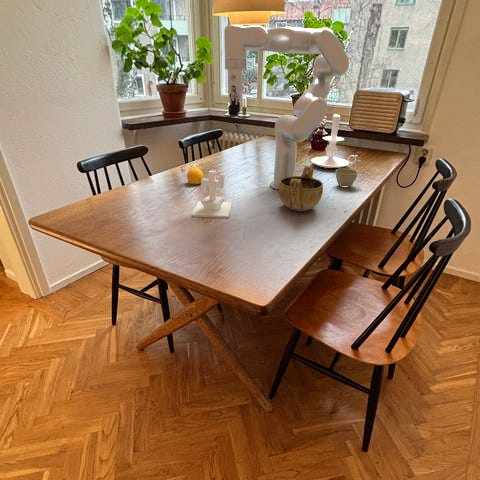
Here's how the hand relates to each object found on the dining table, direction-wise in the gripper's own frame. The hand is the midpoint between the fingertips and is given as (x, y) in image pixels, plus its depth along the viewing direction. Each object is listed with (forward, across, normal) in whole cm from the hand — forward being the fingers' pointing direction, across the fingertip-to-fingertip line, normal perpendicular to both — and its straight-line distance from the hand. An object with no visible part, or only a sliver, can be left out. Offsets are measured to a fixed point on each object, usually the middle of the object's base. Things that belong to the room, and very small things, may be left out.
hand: (234, 114), depth 129 cm
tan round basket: (+34, -14, -27) cm, 45 cm away
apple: (+34, +12, +20) cm, 41 cm away
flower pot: (+34, +15, -51) cm, 63 cm away
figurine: (+33, -19, +7) cm, 38 cm away
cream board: (+33, -19, +7) cm, 39 cm away
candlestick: (+34, +46, -51) cm, 76 cm away
